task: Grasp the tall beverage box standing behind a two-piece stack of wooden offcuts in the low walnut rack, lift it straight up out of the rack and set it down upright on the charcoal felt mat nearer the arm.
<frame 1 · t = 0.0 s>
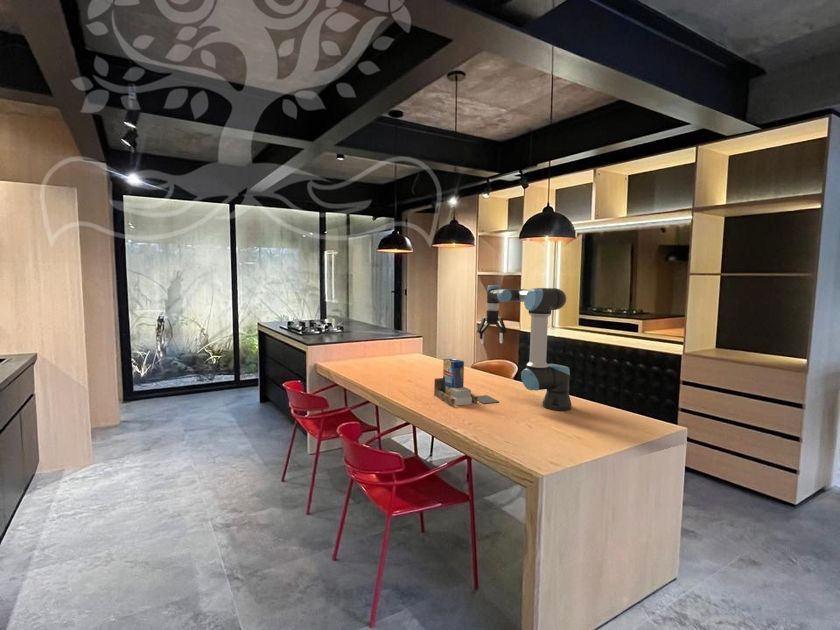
hand: (491, 343, 287), 28 cm above the table, fingers open, 13 cm apart
mat: (485, 399, 260), on the table
offcut low: (460, 403, 253), on the table, touching offcut top
rack: (455, 399, 260), on the table
beverage box: (452, 398, 263), resting in rack
offcut top: (460, 396, 253), point 4 cm above the table, touching offcut low
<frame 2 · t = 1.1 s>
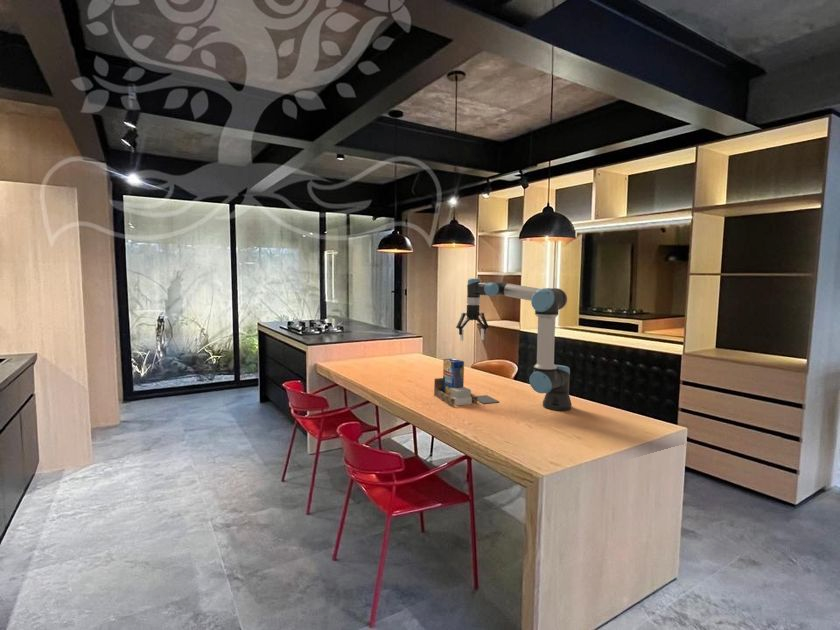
hand: (472, 340, 272), 32 cm above the table, fingers open, 13 cm apart
offcut low: (460, 403, 253), on the table
offcut top: (460, 396, 253), point 4 cm above the table
everything else where it was.
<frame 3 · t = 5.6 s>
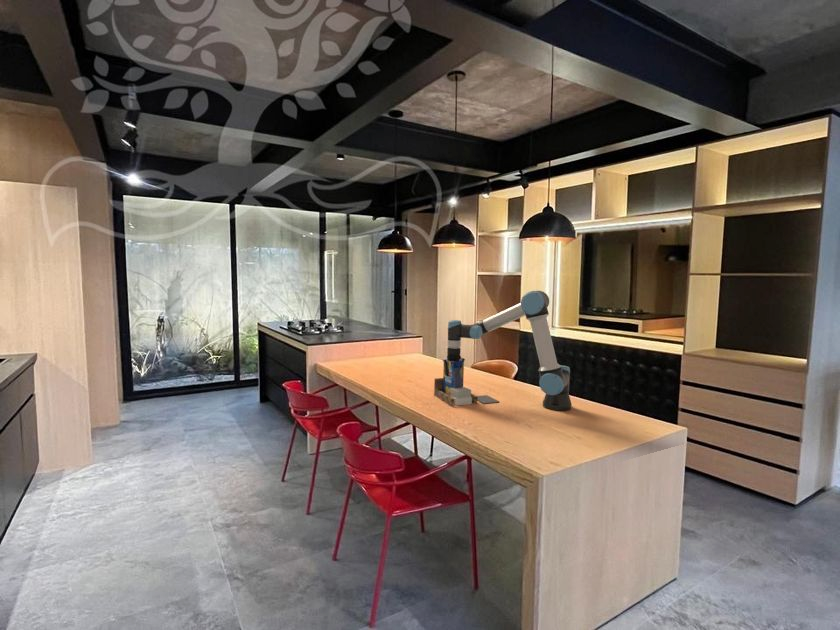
hand: (452, 387, 262), 6 cm above the table, fingers closed on beverage box, 2 cm apart
offcut low: (460, 403, 253), on the table, touching offcut top
beverage box: (452, 398, 263), resting in rack, touching gripper
offcut top: (461, 396, 253), point 4 cm above the table, touching offcut low
when the fingers open (7 cm above the table, at t = 12.5 s): beverage box stays where it is, resting on mat.
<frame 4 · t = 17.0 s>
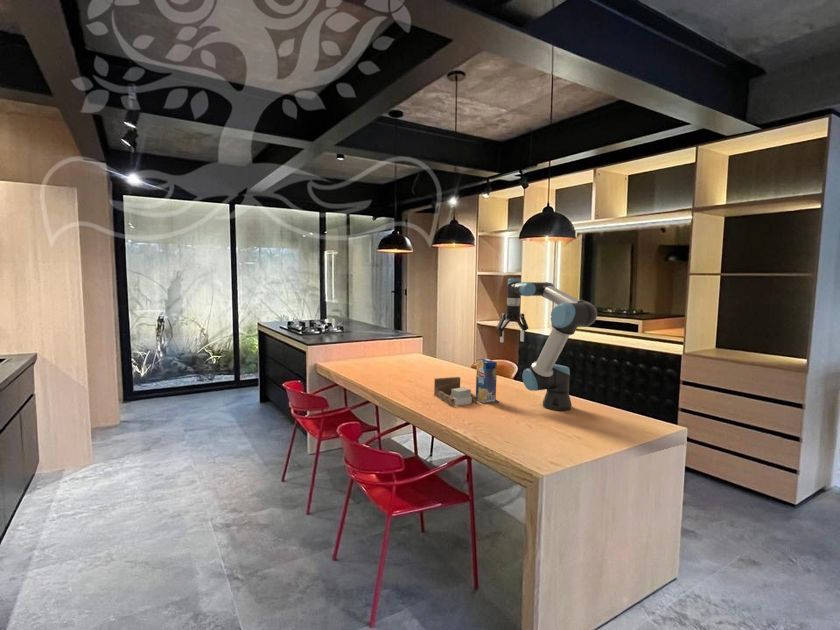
hand: (512, 341, 264), 33 cm above the table, fingers open, 13 cm apart
offcut low: (460, 403, 253), on the table
beverage box: (485, 399, 260), resting on mat
offcut top: (461, 396, 253), point 4 cm above the table
at the end: beverage box 0.2 cm from the mat (horizontally); beverage box tilted 0°; the gripper is holding nothing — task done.
